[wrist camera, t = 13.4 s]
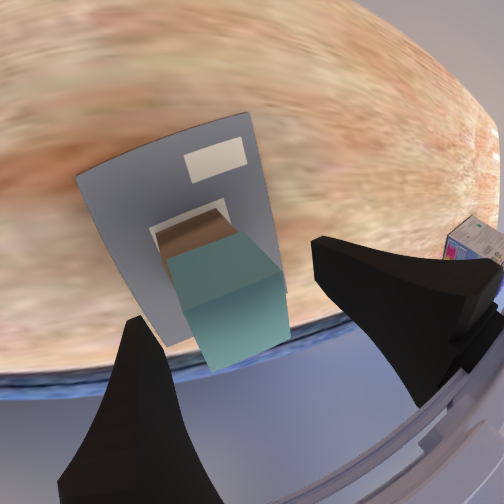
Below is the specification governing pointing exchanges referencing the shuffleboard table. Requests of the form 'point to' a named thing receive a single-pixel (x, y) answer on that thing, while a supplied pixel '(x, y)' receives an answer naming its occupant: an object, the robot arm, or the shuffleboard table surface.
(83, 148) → the shuffleboard table surface
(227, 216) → the board
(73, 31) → the shuffleboard table surface
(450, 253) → the ink cartridge box
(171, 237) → the walnut block
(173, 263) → the teal block
